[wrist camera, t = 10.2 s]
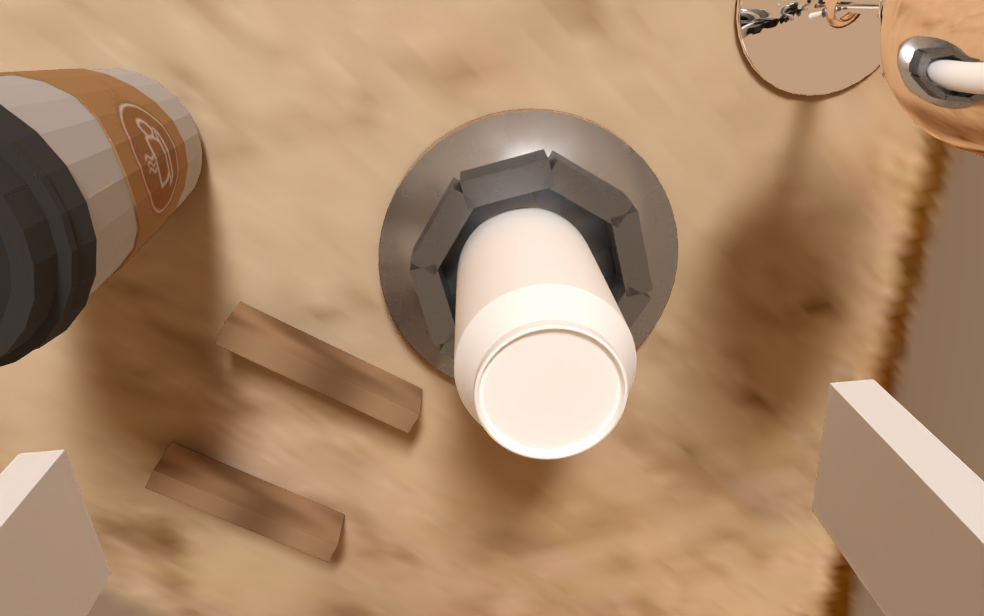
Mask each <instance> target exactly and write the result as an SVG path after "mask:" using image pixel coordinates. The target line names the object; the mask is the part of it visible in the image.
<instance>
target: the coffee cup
mask: <svg viewBox="0 0 984 616" xmlns="http://www.w3.org/2000/svg"><path fill="white" fill-rule="evenodd" d="M201 167H202V147H201V142H200V137H199V133H198V130H197V128H196V126H195V124H194V122H193V119H192V117H191V115H190V113H189V112H188V111H187V109H186V108H185V107H184V106H183V104H182V103H181V102H180V100H179V99H178V98H177V97H176V96H175V95H174V94H173V93H171V92H170V91H169V90H168V89H167V88H165V87H164V86H163V85H162V84H160V83H159V82H157V81H155V80H153V79H151V78H149V77H147V76H145V75H143V74H141V73H137V72H132V71H128V70H123V69H99V70H87V69H59V70H39V71H20V72H0V366H4V365H7V364H10V363H13V362H16V361H18V360H19V359H21V358H22V357H24V356H25V355H27V354H28V353H30V352H31V351H33V350H34V349H37V348H40V347H42V346H43V345H45V344H46V343H48V342H49V341H51V340H52V339H54V338H55V337H57V336H58V335H60V334H61V333H63V332H64V331H66V330H67V329H68V327H69V326H70V325H71V323H72V322H73V321H74V320H75V318H76V317H77V316H78V314H79V313H80V312H81V311H82V309H83V308H84V307H85V305H86V303H87V300H88V297H89V296H90V295H91V294H92V293H93V292H94V291H95V290H96V289H97V288H98V287H99V286H100V285H101V284H102V283H103V282H104V281H105V280H106V279H107V278H108V277H109V276H110V275H112V274H113V273H115V272H116V271H117V270H119V269H120V268H122V267H123V266H124V265H125V263H126V262H127V261H128V260H129V259H130V258H131V257H132V256H133V255H134V254H135V253H136V252H137V251H138V250H139V249H140V248H141V247H142V246H143V245H144V244H145V243H146V242H147V241H148V240H149V239H150V238H151V237H152V236H153V235H154V234H155V233H156V232H157V231H158V230H159V228H160V227H161V226H162V225H163V224H164V223H165V222H166V220H167V219H168V218H169V217H170V215H171V214H172V213H173V212H174V211H175V210H176V209H177V208H178V207H179V206H180V205H181V203H182V202H183V201H184V200H185V199H186V198H187V197H188V195H189V194H190V193H191V192H192V190H193V189H194V188H195V186H196V183H197V180H198V178H199V175H200V173H201Z"/></svg>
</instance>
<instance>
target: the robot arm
mask: <svg viewBox="0 0 984 616" xmlns="http://www.w3.org/2000/svg"><path fill="white" fill-rule="evenodd" d="M812 511H813V512H814V514H815V515H816V517H817V518H818V520H819V521H820V523H821V524H822V525H823V527H824V528H825V530H826V531H827V533H828V534H829V536H830V537H831V538H832V540H833V541H834V543H835V544H836V546H837V547H838V549H839V550H840V551H841V553H842V554H843V556H844V557H845V559H846V560H847V562H848V563H849V564H850V566H851V567H852V569H853V570H854V572H855V573H856V575H857V576H858V577H859V579H860V580H861V582H862V583H863V585H864V586H865V588H866V589H867V590H868V592H869V593H870V594H871V596H872V598H873V599H874V601H875V602H876V603H877V605H878V606H879V608H880V609H881V611H882V612H883V613H884V615H885V616H984V482H983V481H982V480H981V479H980V478H979V477H978V476H977V475H976V474H975V473H974V472H973V471H971V469H969V468H968V467H967V466H966V465H965V464H964V463H963V462H962V461H961V460H960V459H959V458H958V457H957V456H955V455H954V454H953V453H952V452H951V451H950V450H949V449H948V448H947V447H946V446H944V444H942V443H941V442H940V441H939V440H938V439H937V438H936V437H935V436H934V435H933V434H932V433H931V432H930V431H928V430H927V429H926V428H925V427H924V426H923V425H922V424H921V423H920V422H919V421H918V420H917V419H916V418H914V417H913V416H912V415H911V414H910V413H909V412H908V411H907V410H906V409H905V408H904V407H903V406H902V405H900V404H899V403H898V402H897V401H896V400H895V399H894V398H893V397H892V396H891V395H890V394H889V393H888V392H886V391H885V390H884V389H883V388H882V387H881V386H880V385H879V384H878V383H877V382H876V381H875V380H873V379H871V380H860V381H848V382H837V383H830V385H829V392H828V399H827V406H826V413H825V421H824V428H823V435H822V442H821V449H820V456H819V463H818V471H817V478H816V485H815V492H814V499H813V506H812ZM110 574H111V573H110V571H109V568H108V565H107V562H106V560H105V557H104V554H103V552H102V549H101V546H100V543H99V541H98V538H97V535H96V533H95V530H94V527H93V524H92V522H91V519H90V516H89V514H88V511H87V508H86V506H85V503H84V500H83V497H82V495H81V492H80V489H79V487H78V484H77V481H76V478H75V476H74V473H73V470H72V468H71V465H70V462H69V459H68V457H67V454H66V451H65V450H55V451H44V452H32V453H21V454H18V455H17V457H16V458H15V459H14V460H13V461H12V462H11V463H10V464H9V465H8V466H7V467H6V468H5V470H4V471H3V472H2V473H1V474H0V616H86V615H87V614H88V612H89V610H90V609H91V607H92V605H93V604H94V602H95V600H96V598H97V597H98V595H99V593H100V591H101V590H102V588H103V586H104V585H105V583H106V581H107V579H108V578H109V576H110Z"/></svg>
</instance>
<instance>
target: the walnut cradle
mask: <svg viewBox="0 0 984 616" xmlns="http://www.w3.org/2000/svg"><path fill="white" fill-rule="evenodd" d="M215 344H216V345H218V346H220V347H223V348H225V349H227V350H229V351H231V352H233V353H236V354H238V355H240V356H242V357H244V358H246V359H248V360H251V361H253V362H255V363H257V364H259V365H261V366H264V367H266V368H268V369H270V370H272V371H274V372H277V373H279V374H281V375H283V376H285V377H287V378H290V379H292V380H294V381H296V382H298V383H300V384H303V385H305V386H307V387H309V388H311V389H313V390H315V391H318V392H320V393H322V394H324V395H326V396H328V397H331V398H333V399H335V400H337V401H339V402H341V403H344V404H346V405H348V406H350V407H352V408H354V409H357V410H359V411H361V412H363V413H365V414H367V415H370V416H372V417H374V418H376V419H378V420H380V421H382V422H385V423H387V424H389V425H391V426H393V427H395V428H398V429H400V430H402V431H404V432H406V433H409V431H410V430H411V428H412V426H413V425H414V423H415V422H416V420H417V418H418V417H419V415H420V407H421V398H422V389H421V388H419V387H417V386H415V385H412V384H410V383H408V382H406V381H404V380H402V379H400V378H398V377H396V376H394V375H392V374H390V373H388V372H385V371H383V370H381V369H379V368H377V367H375V366H373V365H371V364H369V363H367V362H365V361H363V360H360V359H358V358H356V357H354V356H352V355H350V354H348V353H346V352H344V351H342V350H340V349H338V348H336V347H333V346H331V345H329V344H327V343H325V342H323V341H321V340H319V339H317V338H315V337H313V336H311V335H308V334H306V333H304V332H302V331H300V330H298V329H296V328H294V327H292V326H290V325H288V324H286V323H283V322H281V321H279V320H277V319H275V318H273V317H271V316H269V315H267V314H265V313H263V312H261V311H259V310H256V309H254V308H252V307H250V306H248V305H246V304H244V303H242V302H240V303H239V304H238V305H237V307H236V308H235V309H234V311H233V312H232V313H231V315H230V316H229V318H228V319H227V320H226V322H225V323H224V325H223V327H222V329H221V331H220V333H219V335H218V338H217V340H216V342H215ZM145 488H147V489H149V490H152V491H154V492H157V493H159V494H162V495H164V496H167V497H169V498H172V499H174V500H176V501H179V502H181V503H184V504H186V505H189V506H191V507H194V508H196V509H199V510H201V511H204V512H206V513H208V514H211V515H213V516H216V517H218V518H221V519H223V520H226V521H228V522H231V523H233V524H236V525H238V526H240V527H243V528H245V529H248V530H250V531H253V532H255V533H258V534H260V535H263V536H265V537H268V538H270V539H272V540H275V541H277V542H280V543H282V544H285V545H287V546H290V547H292V548H295V549H297V550H300V551H302V552H304V553H307V554H309V555H312V556H314V557H317V558H319V559H322V560H324V561H327V562H328V560H329V559H330V557H331V556H332V554H333V552H334V551H335V549H336V548H337V546H338V541H339V537H340V533H341V528H342V524H343V520H344V516H345V515H343V514H341V513H339V512H336V511H334V510H332V509H329V508H327V507H324V506H322V505H320V504H317V503H315V502H313V501H310V500H308V499H306V498H303V497H301V496H299V495H296V494H294V493H292V492H289V491H287V490H284V489H282V488H280V487H277V486H275V485H273V484H270V483H268V482H266V481H263V480H261V479H259V478H256V477H254V476H251V475H249V474H247V473H244V472H242V471H240V470H237V469H235V468H233V467H230V466H228V465H226V464H223V463H221V462H219V461H216V460H214V459H211V458H209V457H207V456H204V455H202V454H200V453H197V452H195V451H193V450H190V449H188V448H186V447H183V446H181V445H178V444H176V443H174V442H172V443H171V444H170V446H169V447H168V449H167V450H166V452H165V453H164V455H163V456H162V458H161V459H160V461H159V462H158V464H157V466H156V467H155V469H154V470H153V472H152V474H151V476H150V478H149V480H148V482H147V485H146V487H145Z"/></svg>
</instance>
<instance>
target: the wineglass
mask: <svg viewBox="0 0 984 616" xmlns="http://www.w3.org/2000/svg"><path fill="white" fill-rule="evenodd" d="M736 22H737V30H738V37H739V40H740V44H741V47H742V50H743V53H744V55H745V56H746V58H747V60H748V61H749V63H750V65H751V66H752V68H753V69H754V70H755V71H756V72H757V73H758V74H759V75H760V76H761V78H762V79H763V80H765V81H767V82H768V83H770V84H771V85H773V86H774V87H776V88H778V89H780V90H783V91H786V92H788V93H791V94H798V95H805V96H813V95H825V94H829V93H832V92H836V91H840V90H843V89H845V88H847V87H849V86H851V85H853V84H855V83H857V82H859V81H860V80H862V79H863V78H864V77H866V76H867V75H869V74H870V73H872V72H873V71H874V70H875V69H876V68H877V67H878V66H879V65H880V68H881V72H882V75H883V78H884V80H885V82H886V84H887V86H888V88H889V89H890V91H891V93H892V95H893V97H894V98H895V100H896V101H897V102H898V104H899V105H900V106H901V108H902V109H903V110H904V111H905V112H906V113H907V114H908V116H909V117H910V118H911V119H912V120H913V121H914V122H915V124H916V125H918V126H919V127H921V128H922V129H924V130H925V131H927V132H928V133H929V134H931V135H932V136H934V137H935V138H937V139H940V140H942V141H944V142H946V143H948V144H950V145H952V146H954V147H957V148H960V149H962V150H965V151H968V152H970V153H973V154H976V155H979V156H983V157H984V0H737V12H736Z"/></svg>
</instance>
